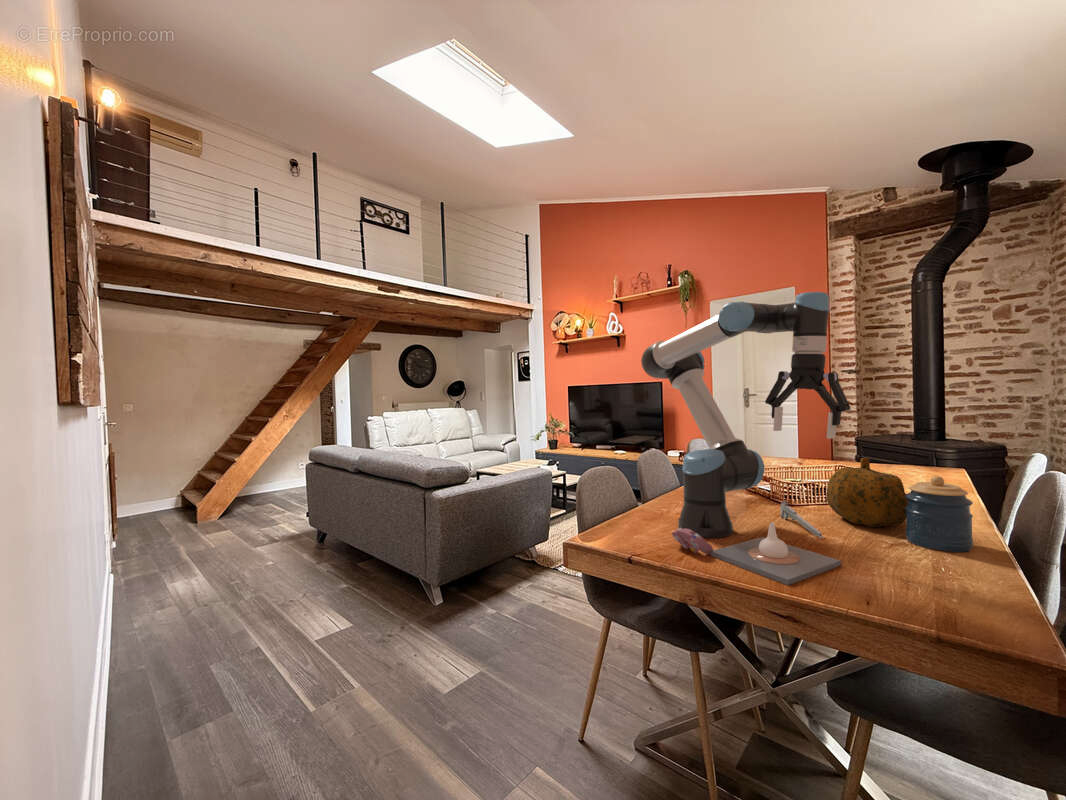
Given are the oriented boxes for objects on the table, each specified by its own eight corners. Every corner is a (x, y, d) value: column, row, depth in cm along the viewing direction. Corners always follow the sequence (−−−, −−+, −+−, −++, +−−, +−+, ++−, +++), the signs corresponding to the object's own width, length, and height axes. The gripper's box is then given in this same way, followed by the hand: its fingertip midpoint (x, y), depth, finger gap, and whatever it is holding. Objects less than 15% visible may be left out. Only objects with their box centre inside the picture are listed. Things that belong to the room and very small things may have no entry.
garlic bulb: (779, 551, 111) (776, 519, 112) (794, 558, 105) (791, 524, 105) (754, 552, 111) (752, 520, 112) (768, 559, 105) (765, 525, 105)
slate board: (710, 555, 112) (710, 550, 112) (762, 541, 122) (762, 536, 122) (787, 585, 95) (787, 578, 95) (841, 565, 104) (841, 559, 104)
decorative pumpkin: (841, 528, 127) (841, 458, 129) (818, 514, 148) (818, 454, 149) (927, 535, 122) (926, 462, 123) (890, 520, 142) (890, 457, 143)
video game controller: (676, 551, 121) (666, 530, 119) (687, 540, 122) (678, 520, 121) (704, 563, 112) (694, 540, 110) (716, 552, 114) (706, 529, 112)
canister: (987, 550, 110) (987, 479, 110) (944, 555, 108) (943, 482, 108) (932, 534, 123) (931, 470, 123) (892, 538, 121) (891, 473, 121)
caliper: (780, 518, 142) (779, 499, 142) (783, 518, 142) (783, 499, 142) (821, 540, 122) (820, 517, 122) (825, 539, 122) (824, 517, 122)
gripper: (754, 353, 124) (750, 428, 126) (856, 352, 103) (848, 442, 105) (770, 354, 128) (765, 427, 130) (870, 353, 107) (863, 440, 109)
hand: (802, 434), depth 117 cm, fingers open, 13 cm apart
